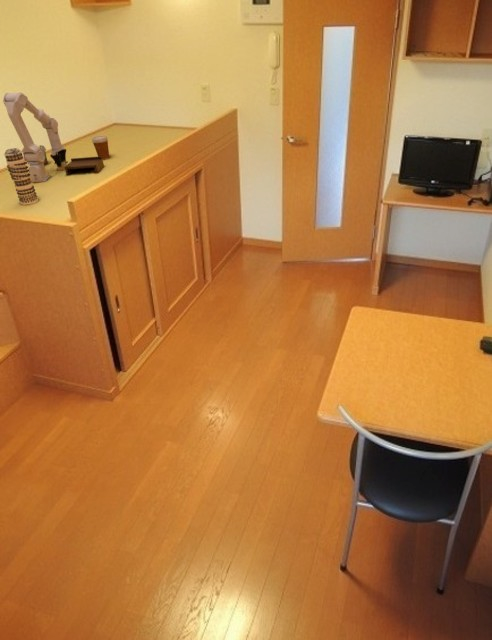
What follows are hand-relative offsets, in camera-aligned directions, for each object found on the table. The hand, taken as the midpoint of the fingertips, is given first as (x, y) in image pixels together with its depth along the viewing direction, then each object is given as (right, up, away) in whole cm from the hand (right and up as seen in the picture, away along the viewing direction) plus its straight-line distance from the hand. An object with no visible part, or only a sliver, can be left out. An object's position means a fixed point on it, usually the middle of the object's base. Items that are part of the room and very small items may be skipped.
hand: (61, 164), depth 282 cm
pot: (0, -2, +1) cm, 2 cm away
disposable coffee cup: (+21, +8, +14) cm, 26 cm away
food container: (-15, +4, +12) cm, 20 cm away
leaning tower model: (+1, -32, -43) cm, 54 cm away
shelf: (+16, -5, -6) cm, 18 cm away
